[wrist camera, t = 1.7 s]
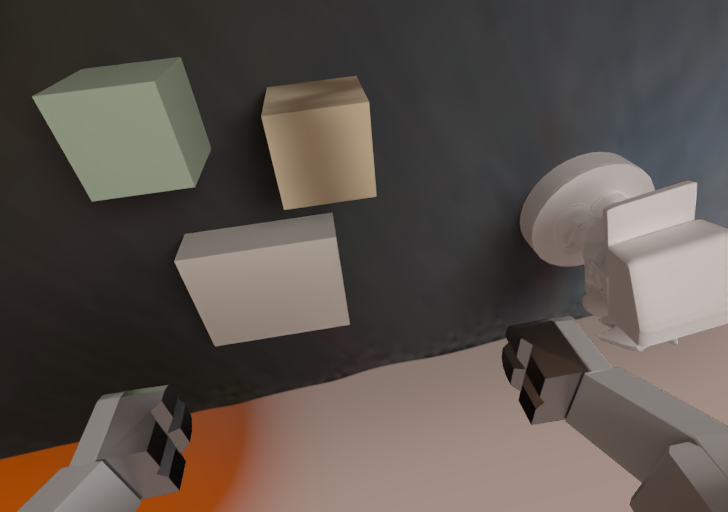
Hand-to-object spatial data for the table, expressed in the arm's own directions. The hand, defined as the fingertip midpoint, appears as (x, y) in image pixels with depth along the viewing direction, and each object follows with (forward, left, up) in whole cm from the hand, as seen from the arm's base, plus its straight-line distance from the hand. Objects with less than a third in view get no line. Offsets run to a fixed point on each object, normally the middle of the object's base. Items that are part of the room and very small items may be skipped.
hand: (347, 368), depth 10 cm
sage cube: (+9, -2, -18) cm, 20 cm away
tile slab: (+5, +10, -18) cm, 21 cm away
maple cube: (0, 0, -18) cm, 18 cm away
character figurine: (-18, +8, -18) cm, 27 cm away
